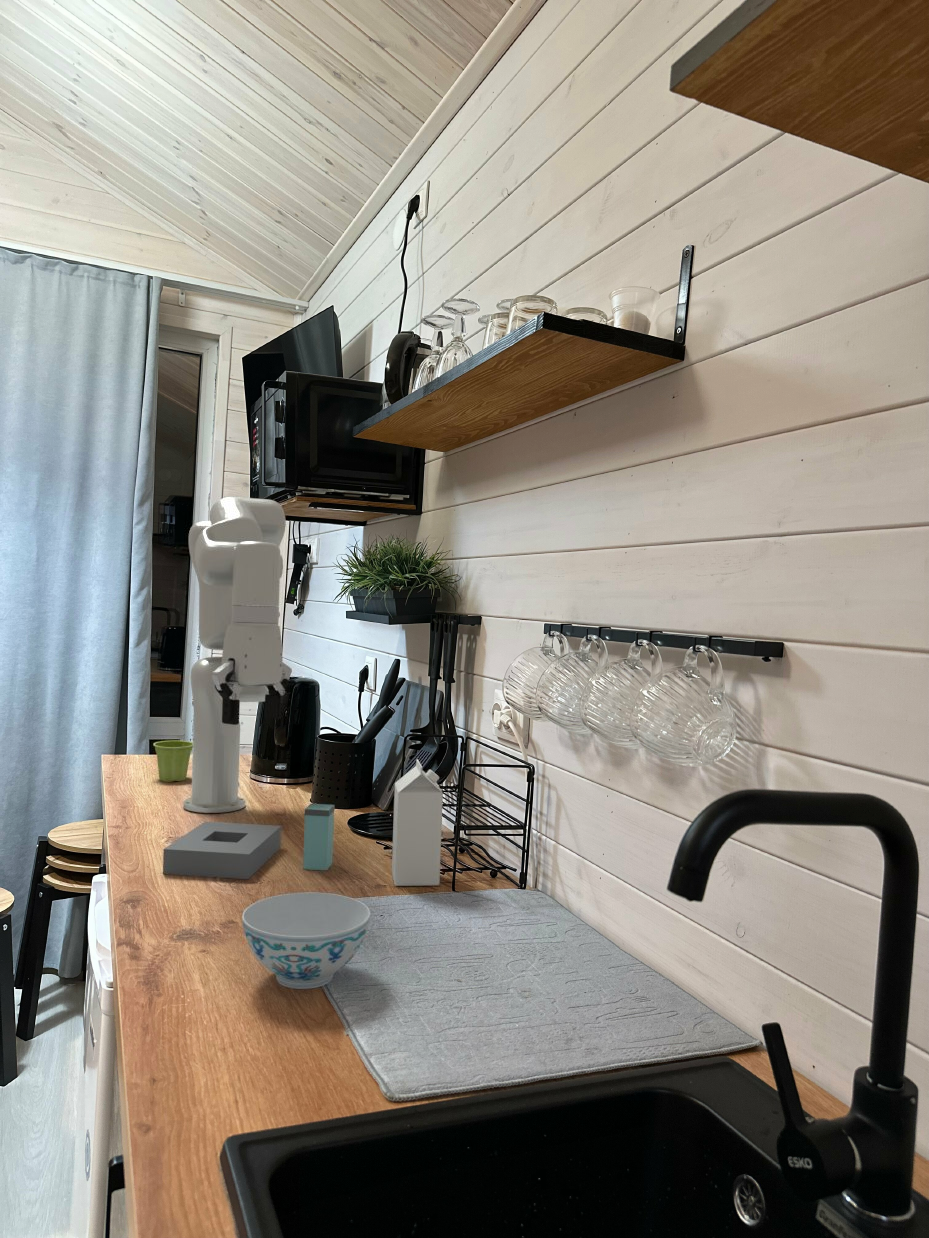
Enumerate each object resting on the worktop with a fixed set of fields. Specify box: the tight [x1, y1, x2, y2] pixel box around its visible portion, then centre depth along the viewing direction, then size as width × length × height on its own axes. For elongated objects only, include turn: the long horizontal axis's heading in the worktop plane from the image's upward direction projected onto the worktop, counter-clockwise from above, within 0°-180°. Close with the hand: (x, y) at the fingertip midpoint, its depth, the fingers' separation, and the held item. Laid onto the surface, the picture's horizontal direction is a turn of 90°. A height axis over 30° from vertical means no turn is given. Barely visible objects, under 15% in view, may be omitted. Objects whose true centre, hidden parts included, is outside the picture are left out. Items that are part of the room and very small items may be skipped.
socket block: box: [162, 821, 282, 880], centre depth 151 cm, size 18×14×4 cm
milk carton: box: [391, 759, 444, 887], centre depth 144 cm, size 7×7×19 cm
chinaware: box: [241, 891, 371, 990], centre depth 106 cm, size 15×15×8 cm
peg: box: [302, 803, 336, 871], centre depth 150 cm, size 4×4×10 cm
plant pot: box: [153, 740, 193, 783], centre depth 214 cm, size 9×9×9 cm
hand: (252, 721), depth 147 cm, fingers open, 9 cm apart
